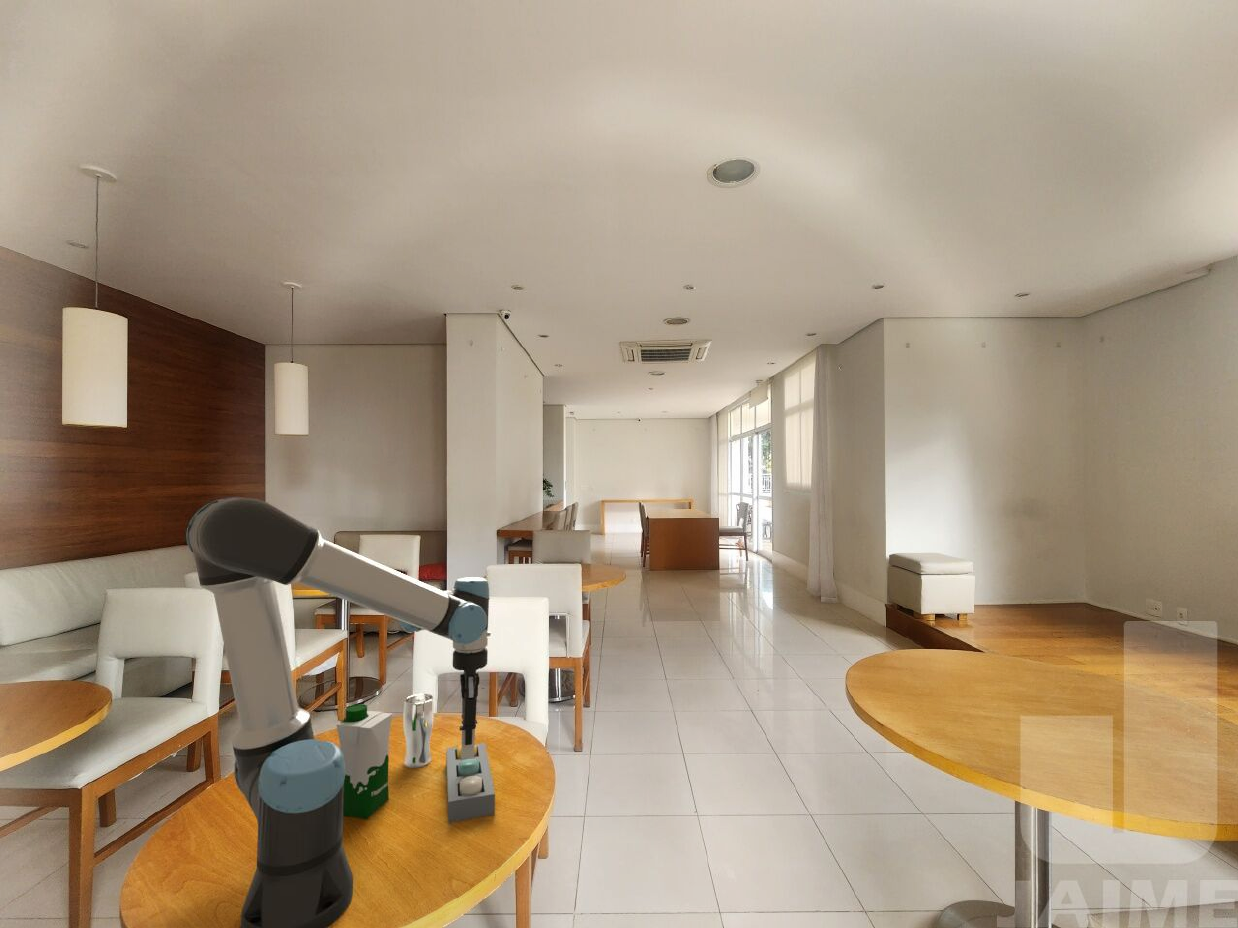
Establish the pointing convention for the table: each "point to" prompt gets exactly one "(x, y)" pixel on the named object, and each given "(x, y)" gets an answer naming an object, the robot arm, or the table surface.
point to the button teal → (468, 767)
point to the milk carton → (364, 760)
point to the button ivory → (470, 785)
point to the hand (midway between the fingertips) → (467, 757)
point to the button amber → (460, 752)
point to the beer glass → (418, 729)
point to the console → (470, 803)
